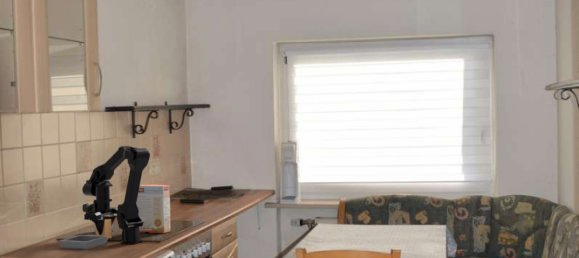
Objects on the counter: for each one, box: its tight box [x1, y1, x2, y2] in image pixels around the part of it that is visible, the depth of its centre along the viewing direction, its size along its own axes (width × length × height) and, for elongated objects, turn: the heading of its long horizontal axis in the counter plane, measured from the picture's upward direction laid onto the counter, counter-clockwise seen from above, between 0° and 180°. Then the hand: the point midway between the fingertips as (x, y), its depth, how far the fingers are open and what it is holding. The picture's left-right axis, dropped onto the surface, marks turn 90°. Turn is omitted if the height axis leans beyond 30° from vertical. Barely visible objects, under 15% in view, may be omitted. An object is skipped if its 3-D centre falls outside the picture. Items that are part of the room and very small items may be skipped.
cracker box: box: [136, 184, 172, 234], centre depth 314 cm, size 14×6×21 cm, turn 67°
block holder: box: [59, 234, 108, 251], centre depth 284 cm, size 13×13×3 cm
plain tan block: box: [95, 219, 113, 240], centre depth 300 cm, size 4×4×8 cm
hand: (103, 233), depth 300 cm, fingers closed on plain tan block, 4 cm apart
